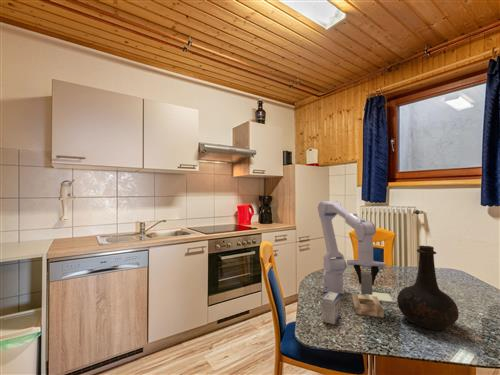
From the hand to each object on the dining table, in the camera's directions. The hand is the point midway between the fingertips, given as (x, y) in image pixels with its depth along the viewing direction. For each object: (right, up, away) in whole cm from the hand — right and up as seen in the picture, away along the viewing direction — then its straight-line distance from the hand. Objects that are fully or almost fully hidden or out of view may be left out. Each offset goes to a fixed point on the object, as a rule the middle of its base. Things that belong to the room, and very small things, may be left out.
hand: (366, 283), depth 103 cm
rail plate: (0, -10, 0) cm, 10 cm away
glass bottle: (+16, -10, -13) cm, 23 cm away
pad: (+11, -10, +10) cm, 18 cm away
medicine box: (-18, -10, -9) cm, 22 cm away
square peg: (0, -4, 0) cm, 3 cm away
